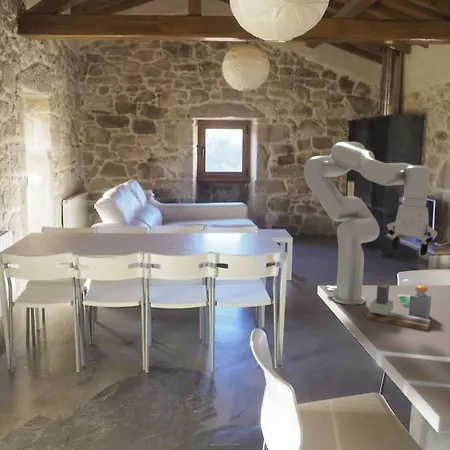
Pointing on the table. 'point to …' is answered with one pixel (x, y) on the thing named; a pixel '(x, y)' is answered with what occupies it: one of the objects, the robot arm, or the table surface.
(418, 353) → the table surface
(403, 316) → the rail board
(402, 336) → the table surface
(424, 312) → the cabinet
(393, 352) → the table surface
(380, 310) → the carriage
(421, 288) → the plunger
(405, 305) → the smartphone
